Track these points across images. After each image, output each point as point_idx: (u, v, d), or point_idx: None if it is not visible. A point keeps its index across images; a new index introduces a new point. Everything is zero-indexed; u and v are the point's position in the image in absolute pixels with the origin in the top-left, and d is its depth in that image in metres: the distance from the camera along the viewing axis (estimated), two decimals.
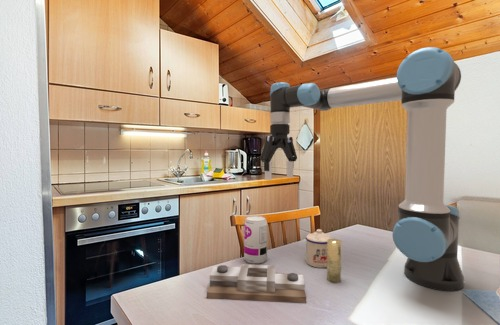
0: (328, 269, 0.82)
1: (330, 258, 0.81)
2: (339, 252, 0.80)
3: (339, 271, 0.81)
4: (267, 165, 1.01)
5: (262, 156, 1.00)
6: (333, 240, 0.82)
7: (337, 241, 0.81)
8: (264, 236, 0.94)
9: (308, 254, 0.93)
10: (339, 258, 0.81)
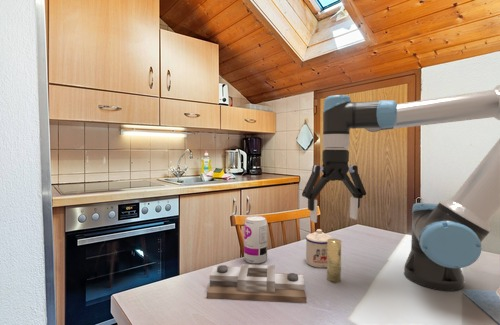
0: (328, 269, 0.82)
1: (330, 258, 0.81)
2: (339, 252, 0.80)
3: (339, 271, 0.81)
4: (311, 203, 0.79)
5: (304, 191, 0.79)
6: (333, 240, 0.82)
7: (337, 241, 0.81)
8: (264, 236, 0.94)
9: (308, 254, 0.93)
10: (339, 258, 0.81)
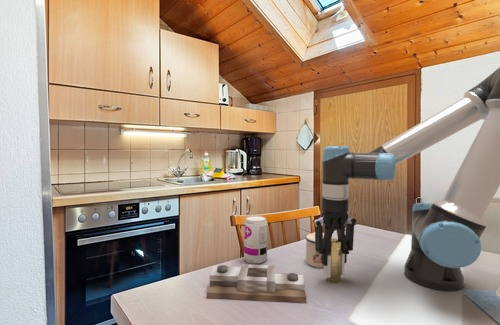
0: None
1: None
2: (339, 252, 0.80)
3: (339, 271, 0.81)
4: (325, 258, 0.81)
5: (317, 247, 0.81)
6: (333, 240, 0.82)
7: (337, 241, 0.81)
8: (264, 236, 0.94)
9: (308, 254, 0.93)
10: (339, 258, 0.81)
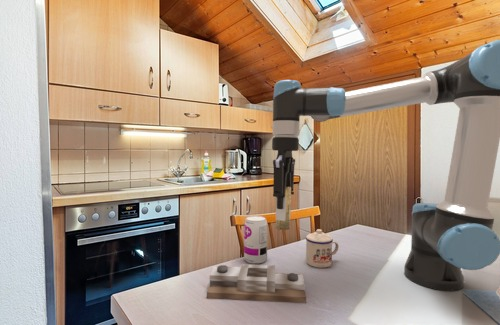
0: None
1: None
2: (290, 197, 0.78)
3: (289, 217, 0.79)
4: (282, 201, 0.75)
5: (276, 191, 0.73)
6: None
7: (287, 186, 0.78)
8: (264, 236, 0.94)
9: (308, 254, 0.93)
10: (290, 203, 0.78)
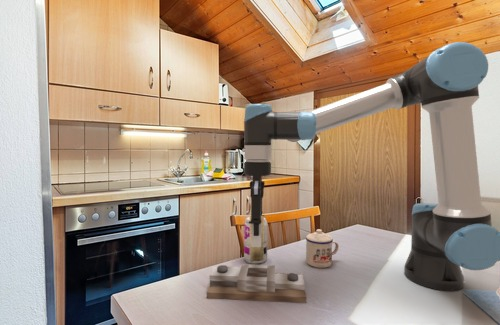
0: (256, 248, 0.75)
1: None
2: None
3: None
4: (258, 228, 0.73)
5: (254, 218, 0.71)
6: None
7: None
8: (264, 236, 0.94)
9: (308, 254, 0.93)
10: None
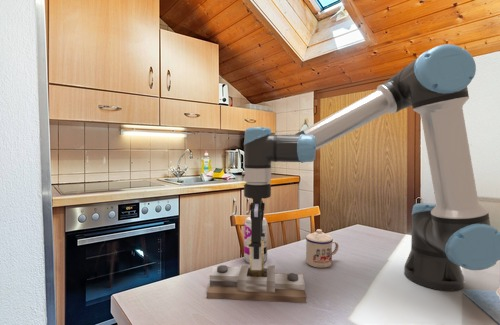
0: (257, 273, 0.76)
1: None
2: None
3: None
4: (258, 251, 0.73)
5: (254, 241, 0.70)
6: None
7: None
8: None
9: (308, 254, 0.93)
10: None
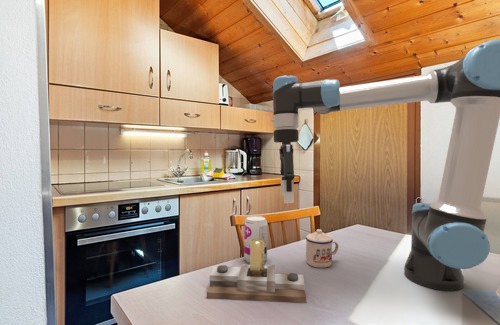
0: (257, 273, 0.76)
1: (259, 261, 0.75)
2: None
3: None
4: None
5: (288, 172, 0.74)
6: (256, 241, 0.77)
7: (260, 240, 0.77)
8: (264, 236, 0.94)
9: (308, 254, 0.93)
10: None
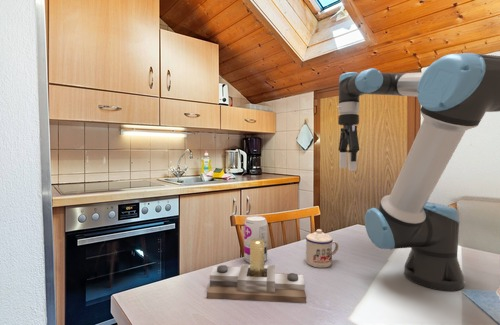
0: (257, 273, 0.76)
1: (259, 261, 0.75)
2: None
3: None
4: (355, 155, 0.98)
5: (354, 146, 0.97)
6: (256, 241, 0.77)
7: (260, 240, 0.77)
8: (264, 236, 0.94)
9: (308, 254, 0.93)
10: None
